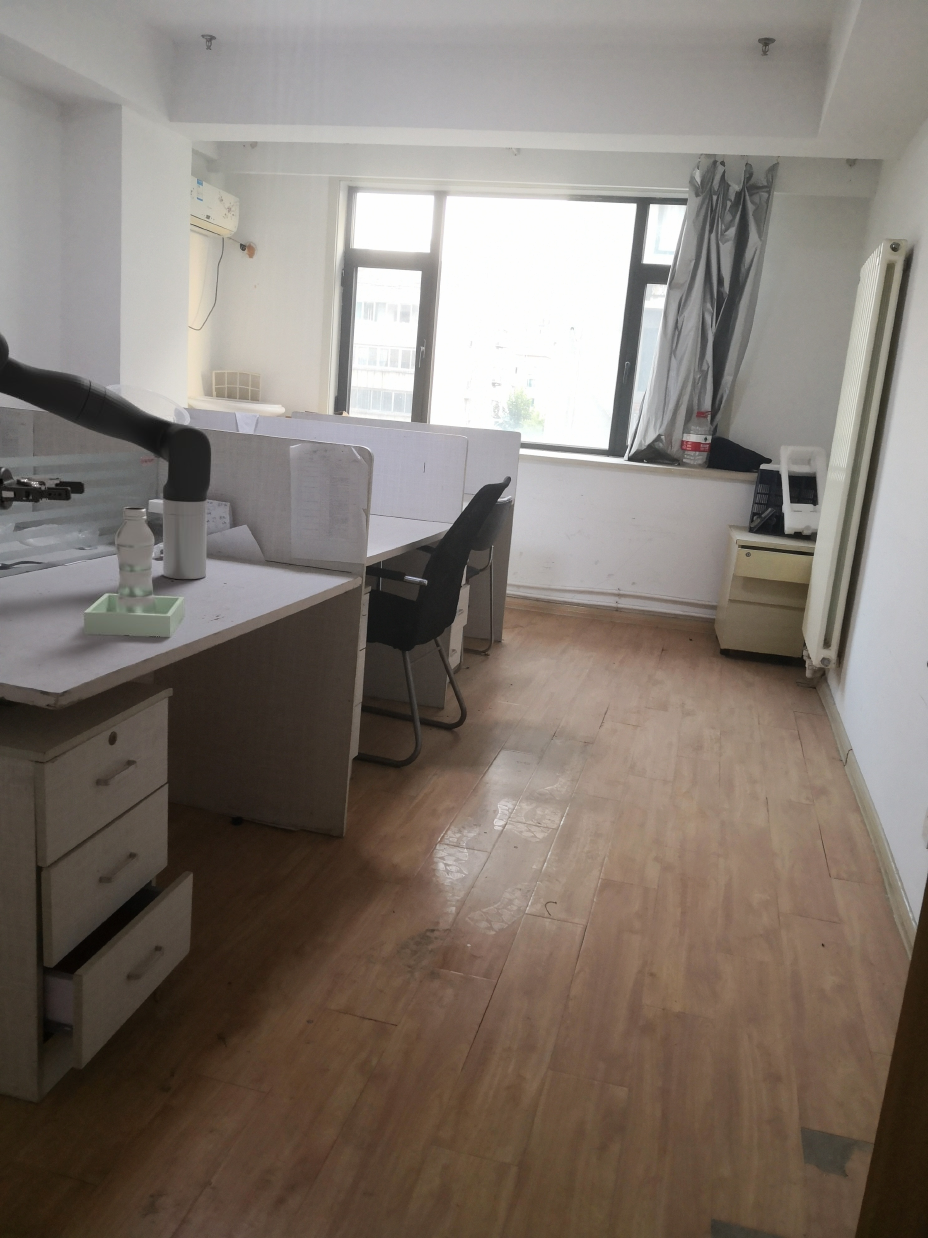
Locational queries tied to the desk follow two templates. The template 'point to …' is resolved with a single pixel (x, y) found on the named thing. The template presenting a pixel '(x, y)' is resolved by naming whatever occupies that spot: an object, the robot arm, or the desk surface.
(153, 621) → the green tray
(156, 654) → the desk surface
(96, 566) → the desk surface
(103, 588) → the desk surface
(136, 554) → the plastic bottle
